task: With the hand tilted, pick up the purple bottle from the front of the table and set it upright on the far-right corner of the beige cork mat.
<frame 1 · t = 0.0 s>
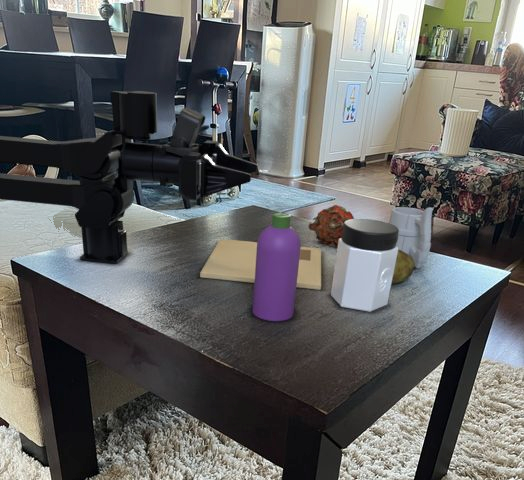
hand: (254, 172, 85), 17 cm above the table, tool horizontal, fingers open, 9 cm apart
potato: (377, 282, 93), on the table
mug: (404, 266, 102), on the table
jar: (358, 301, 84), on the table
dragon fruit: (330, 244, 111), on the table
purple bottle: (272, 312, 78), on the table
cork mat: (265, 263, 97), on the table
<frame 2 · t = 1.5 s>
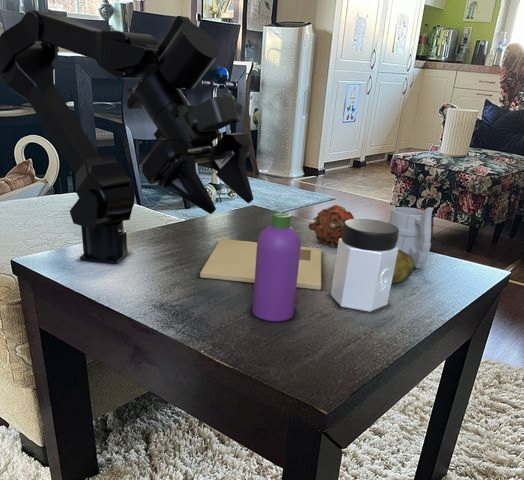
hand: (233, 206, 75), 14 cm above the table, tool tilted 45°, fingers open, 9 cm apart
nothing on the table moved.
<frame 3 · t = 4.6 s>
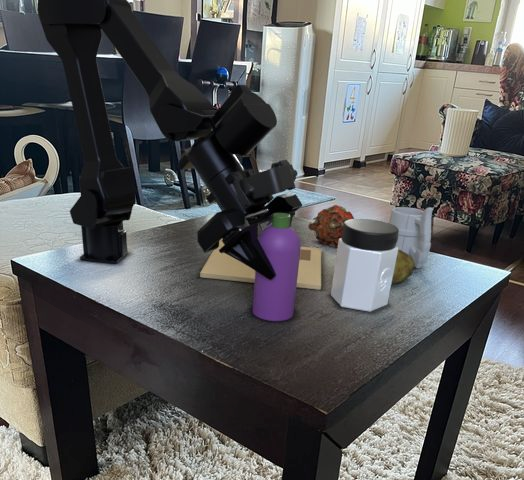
hand: (285, 272, 74), 7 cm above the table, tool tilted 45°, fingers closed on purple bottle, 6 cm apart
purple bottle: (272, 312, 78), on the table, touching gripper
everything else where it was.
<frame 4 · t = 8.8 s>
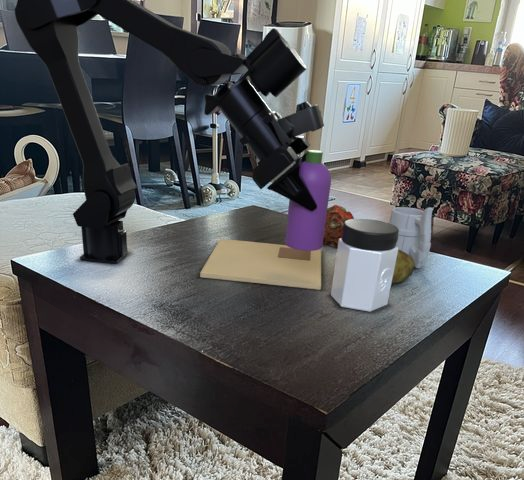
hand: (317, 204, 82), 13 cm above the table, tool tilted 45°, fingers closed on purple bottle, 6 cm apart
purple bottle: (303, 244, 86), point 7 cm above the table, touching gripper
everything else where it was.
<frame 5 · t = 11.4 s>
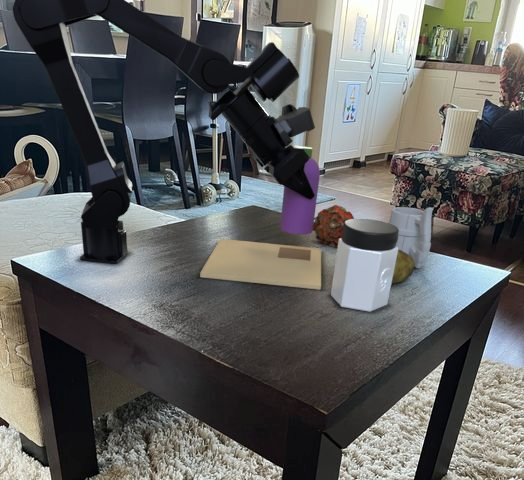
hand: (307, 193, 95), 12 cm above the table, tool tilted 45°, fingers closed on purple bottle, 6 cm apart
purple bottle: (296, 229, 98), point 5 cm above the table, touching gripper
everything else where it was.
when the fingers open (8 cm above the table, at t = 13.2 s): purple bottle stays where it is, resting on cork mat.
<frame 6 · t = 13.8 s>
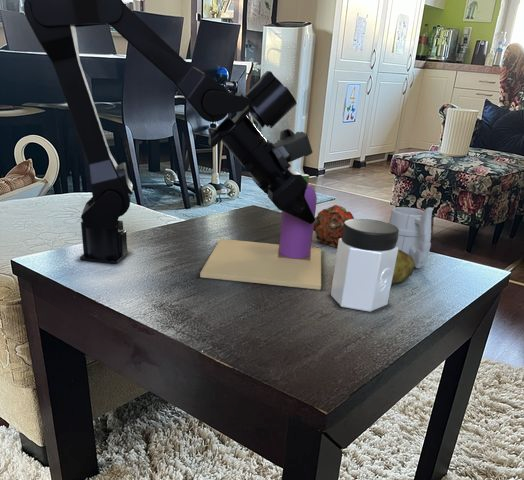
hand: (306, 215, 97), 8 cm above the table, tool tilted 45°, fingers open, 9 cm apart
purple bottle: (294, 253, 100), point 1 cm above the table, touching cork mat
everything else where it was.
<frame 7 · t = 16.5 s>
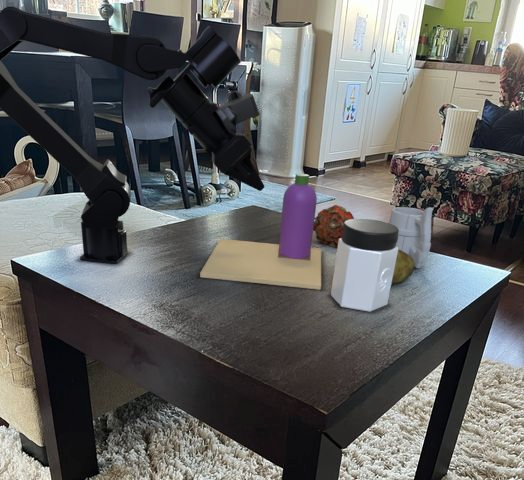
hand: (257, 183, 93), 14 cm above the table, tool tilted 45°, fingers open, 9 cm apart
nothing on the table moved.
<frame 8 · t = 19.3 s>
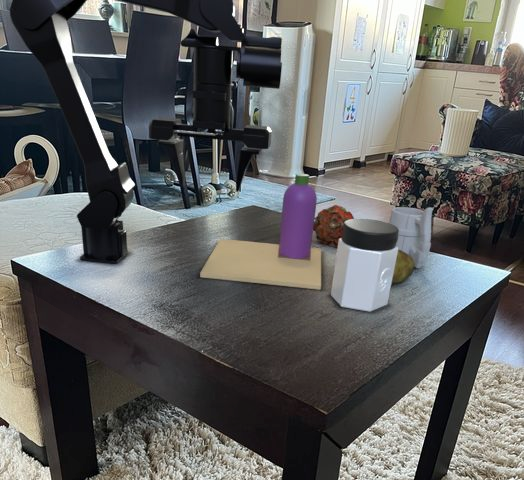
hand: (209, 188, 88), 13 cm above the table, tool pointing down, fingers open, 9 cm apart
nothing on the table moved.
at the end: purple bottle inside the target area on the cork mat (0.8 cm from its centre), point 0.9 cm above the cork mat's base; purple bottle tilted 0°; the gripper is holding nothing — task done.
